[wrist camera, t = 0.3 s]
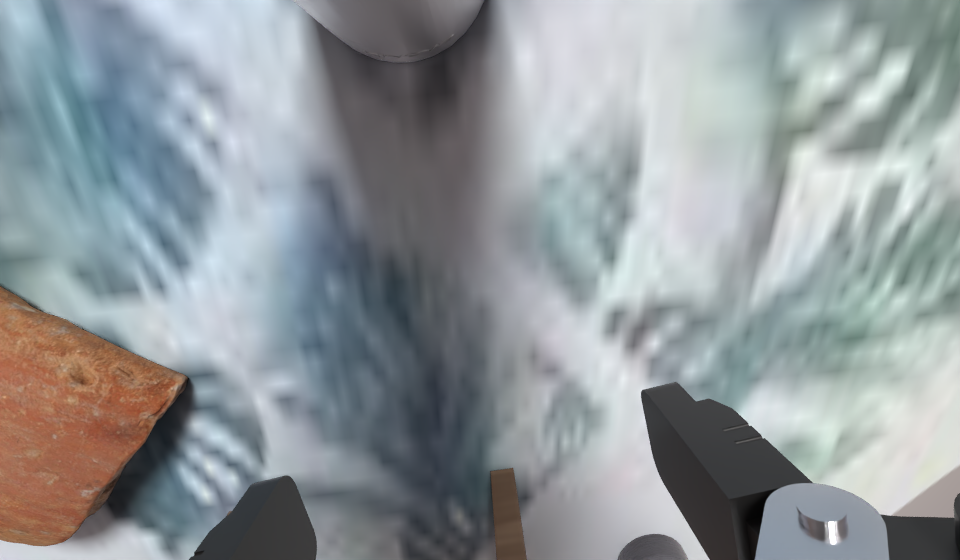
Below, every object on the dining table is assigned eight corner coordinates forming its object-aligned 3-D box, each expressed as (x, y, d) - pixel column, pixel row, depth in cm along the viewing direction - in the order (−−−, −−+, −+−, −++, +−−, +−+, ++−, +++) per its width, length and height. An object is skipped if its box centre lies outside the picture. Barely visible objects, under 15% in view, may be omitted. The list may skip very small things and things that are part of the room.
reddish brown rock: (-247, 492, 24) (-115, 246, 23) (-95, 440, 31) (14, 245, 30) (4, 638, 25) (144, 405, 24) (102, 557, 31) (216, 370, 30)
